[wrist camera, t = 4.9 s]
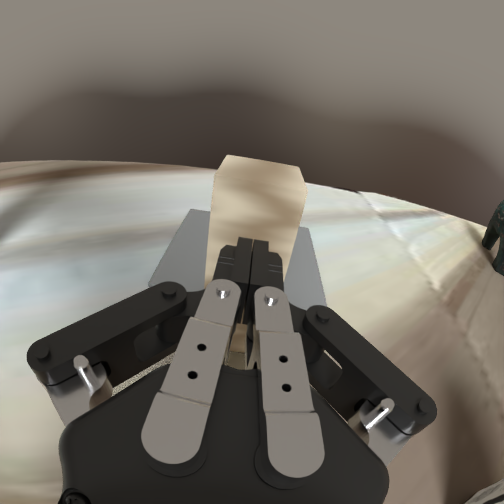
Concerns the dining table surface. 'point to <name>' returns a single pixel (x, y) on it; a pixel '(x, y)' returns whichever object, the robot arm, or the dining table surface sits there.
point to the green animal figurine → (496, 237)
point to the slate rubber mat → (195, 252)
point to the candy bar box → (489, 494)
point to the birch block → (254, 213)
